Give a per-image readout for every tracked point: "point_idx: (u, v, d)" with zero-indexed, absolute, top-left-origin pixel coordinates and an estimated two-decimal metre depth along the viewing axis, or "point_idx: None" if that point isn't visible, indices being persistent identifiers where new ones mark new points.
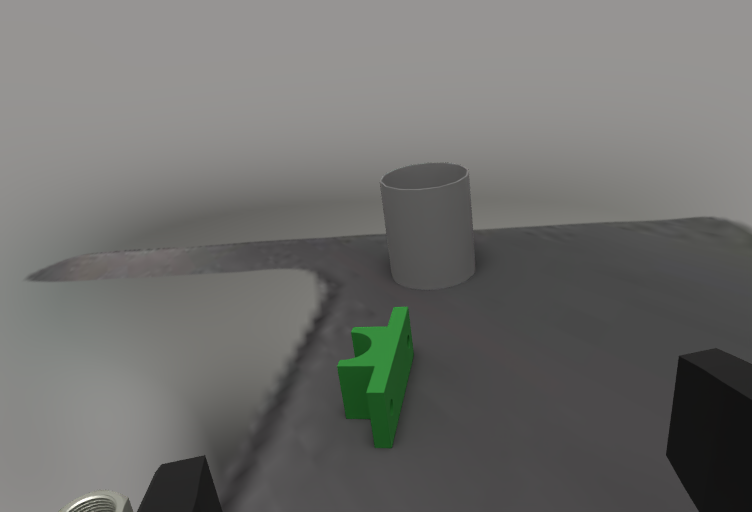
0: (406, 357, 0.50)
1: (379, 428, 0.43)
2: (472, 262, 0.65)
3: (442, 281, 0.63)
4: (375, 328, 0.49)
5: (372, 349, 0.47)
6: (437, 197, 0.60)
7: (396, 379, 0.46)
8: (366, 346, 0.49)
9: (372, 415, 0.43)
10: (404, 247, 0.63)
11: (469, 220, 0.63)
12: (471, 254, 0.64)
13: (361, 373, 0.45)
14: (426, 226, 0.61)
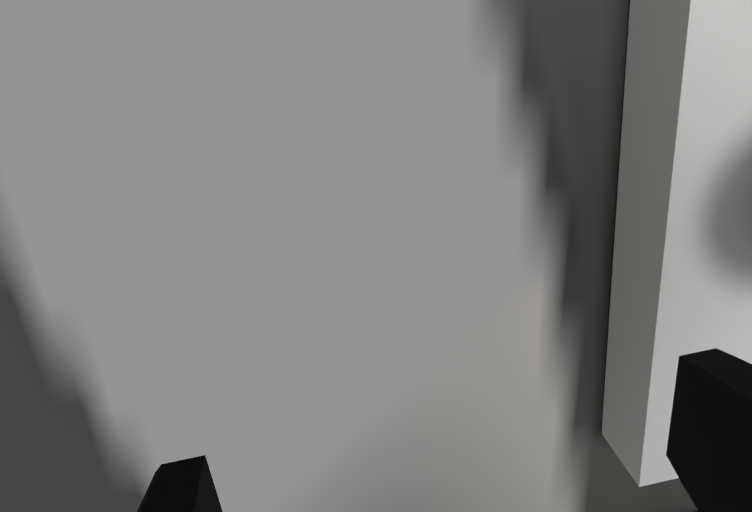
0: None
1: None
2: None
3: None
4: None
5: None
6: None
7: None
8: None
9: None
10: None
11: None
12: None
13: None
14: None
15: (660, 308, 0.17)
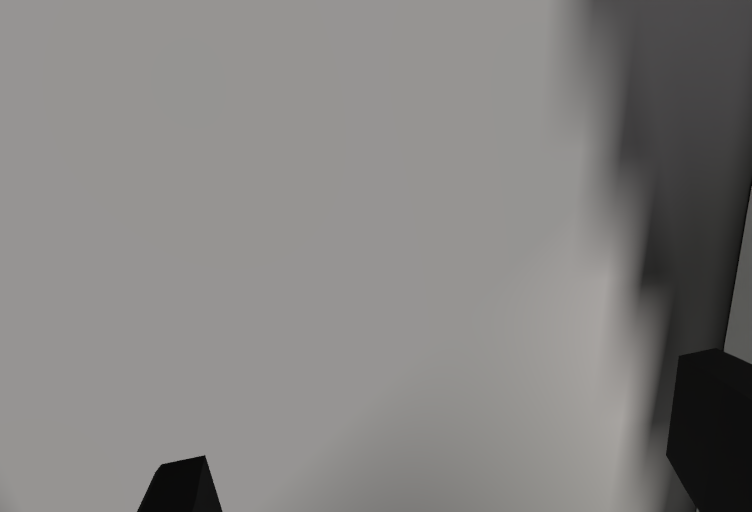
0: None
1: None
2: None
3: None
4: None
5: None
6: None
7: None
8: None
9: None
10: None
11: None
12: None
13: None
14: None
15: None
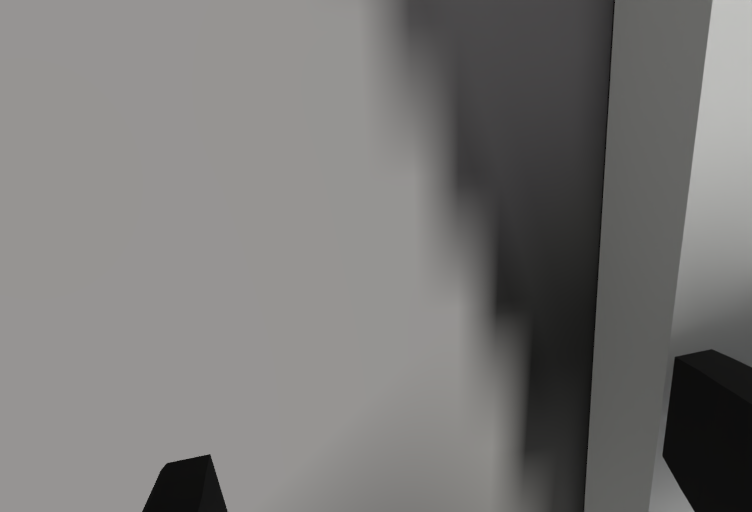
0: None
1: None
2: None
3: None
4: None
5: None
6: None
7: None
8: None
9: None
10: None
11: None
12: None
13: None
14: None
15: (654, 490, 0.12)
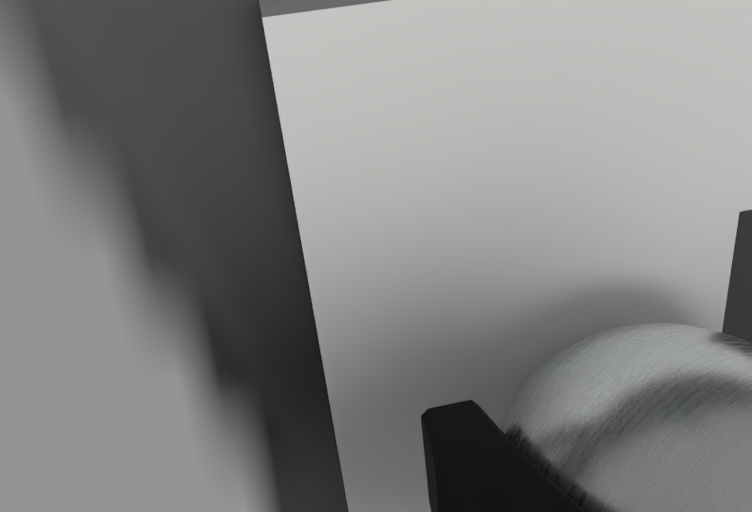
0: None
1: None
2: None
3: None
4: None
5: None
6: None
7: None
8: None
9: None
10: None
11: None
12: None
13: None
14: None
15: None
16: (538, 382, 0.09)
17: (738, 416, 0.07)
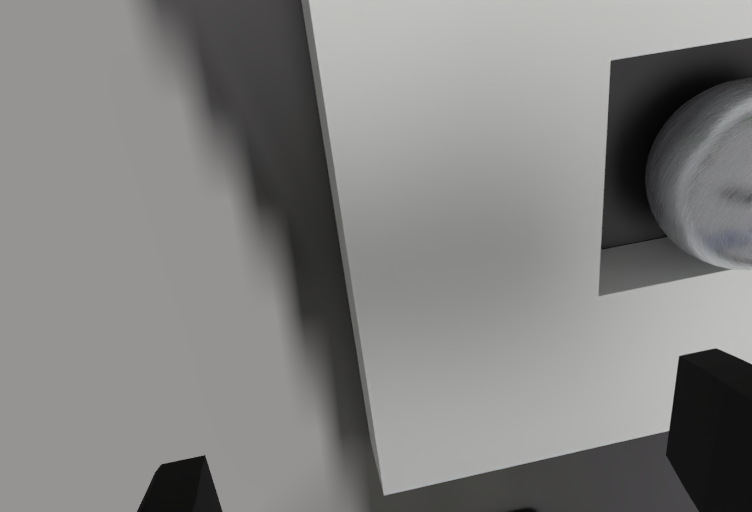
0: None
1: None
2: None
3: None
4: None
5: None
6: None
7: None
8: None
9: None
10: None
11: None
12: None
13: None
14: None
15: (361, 323, 0.18)
16: None
17: None
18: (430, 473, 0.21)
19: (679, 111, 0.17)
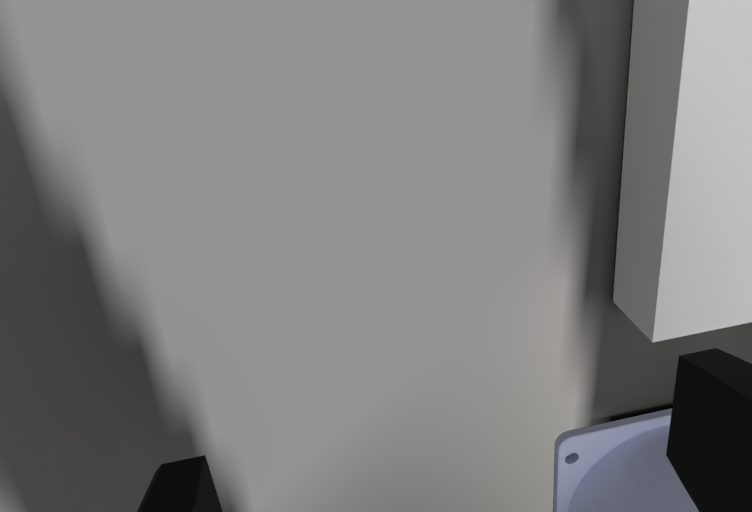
0: None
1: None
2: None
3: None
4: None
5: None
6: None
7: None
8: None
9: None
10: None
11: None
12: None
13: None
14: None
15: (677, 134, 0.17)
16: None
17: None
18: (701, 319, 0.20)
19: None
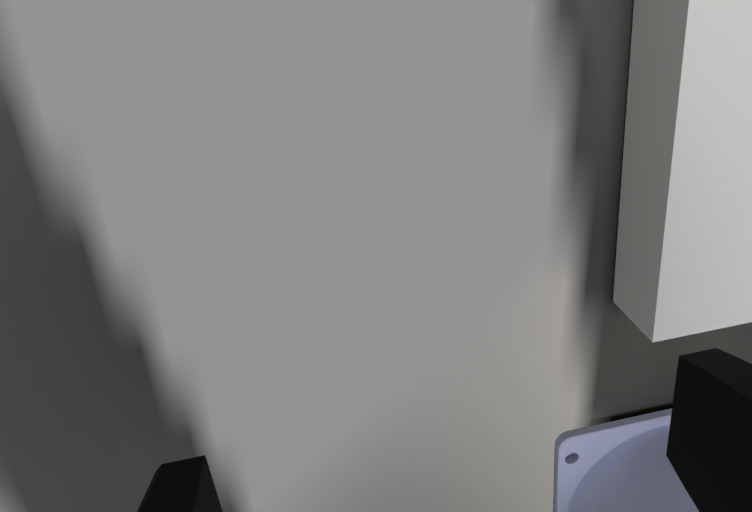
0: None
1: None
2: None
3: None
4: None
5: None
6: None
7: None
8: None
9: None
10: None
11: None
12: None
13: None
14: None
15: (677, 134, 0.17)
16: None
17: None
18: (701, 319, 0.20)
19: None
